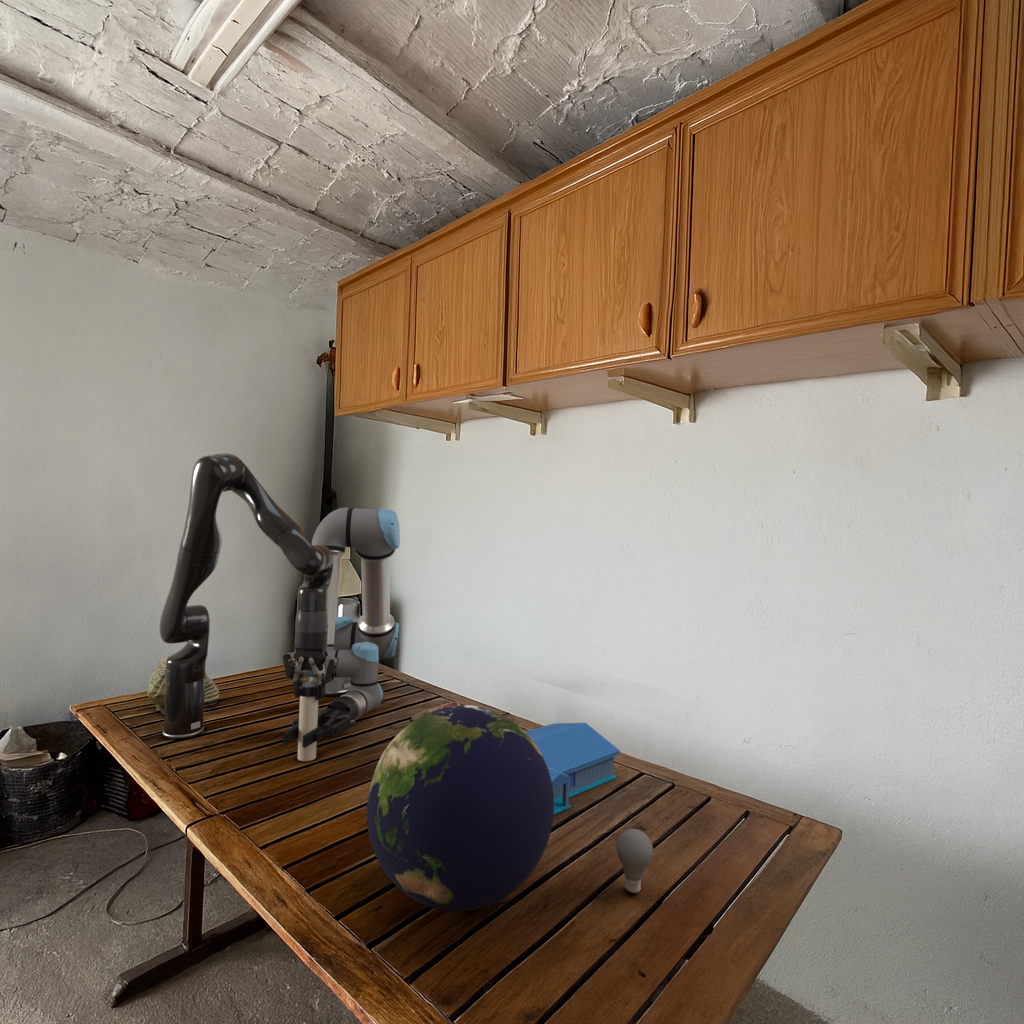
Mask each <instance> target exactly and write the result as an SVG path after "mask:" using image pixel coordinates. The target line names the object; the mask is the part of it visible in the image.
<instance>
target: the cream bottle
mask: <svg viewBox="0 0 1024 1024" xmlns="http://www.w3.org/2000/svg"><path fill="white" fill-rule="evenodd" d="M319 701H320V700H316V696H312V697H303V696H300V697H299V709H298V718H299V730H298V738H297V760H298V761H300V762H310V761H314V760H315V759H316V758H317V752H318V751H317V750H318V748H317V747H318V740H317V741H315V742H314V743H312V744H311V745H309V746H307V747H306V748H303V736H304V735H305V734H307V733H309V732H310V731H312V730H314V729H315V728H317V727H318V712H319Z"/></svg>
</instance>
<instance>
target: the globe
mask: <svg viewBox="0 0 1024 1024" xmlns="http://www.w3.org/2000/svg"><path fill="white" fill-rule="evenodd" d="M368 788H369V789H368V794H367V801H366V822H367V832H368V836H369V840H370V844H371V847H372V851H373V853H374V855H375V857H376V859H377V861H378V864H379V865H380V867H381V869H382V870H383V872H384V873H385V875H386V876H387V877H388V878H389V880H390V881H391V883H393V884H394V885H395V886H396V887H397V888H398V890H400V891H401V892H402V893H404V894H405V895H406V896H408V897H409V898H410V899H412V900H413V901H415V902H417V903H419V904H421V905H424V906H426V907H428V908H429V907H430V908H431V909H436V910H439V911H445V912H455V913H456V912H471V911H475V910H479V909H483V908H486V907H489V906H491V905H494V904H496V903H499V902H500V901H502V900H503V899H505V898H506V897H508V896H509V895H511V894H512V893H514V892H515V891H516V890H517V889H518V888H519V887H520V886H522V885H523V884H524V882H526V880H527V879H528V878H529V877H530V875H532V873H533V871H534V870H535V869H536V867H537V866H538V864H539V863H540V860H541V859H542V857H543V855H544V853H545V850H546V848H547V846H548V843H549V841H550V837H551V833H552V827H553V823H554V816H555V815H554V794H553V786H552V782H551V777H550V774H549V770H548V767H547V765H546V763H545V760H544V757H543V755H542V753H541V752H540V750H539V748H538V747H537V745H536V744H535V742H534V741H533V740H532V739H531V737H530V736H529V735H528V734H527V733H526V731H525V730H524V729H523V728H522V727H521V726H520V725H518V723H516V722H514V721H513V720H512V719H510V718H508V717H507V716H505V715H503V714H501V713H499V712H497V711H494V710H493V709H489V708H485V707H482V706H477V705H469V704H468V705H467V704H465V705H460V706H451V707H445V708H441V709H438V710H435V711H432V712H430V713H427V714H425V715H423V716H421V717H419V718H418V719H416V720H415V721H413V720H412V721H411V722H409V724H407V725H406V726H405V727H404V728H402V729H401V731H399V733H398V734H396V736H395V737H394V738H393V739H392V740H391V741H390V742H389V743H388V745H387V747H385V749H384V751H382V754H381V755H380V758H379V760H378V762H377V763H376V766H375V769H374V771H373V774H372V777H371V780H370V783H369V787H368Z"/></svg>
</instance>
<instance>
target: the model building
mask: <svg viewBox="0 0 1024 1024" xmlns="http://www.w3.org/2000/svg"><path fill="white" fill-rule="evenodd" d="M525 732H526V733H527V734H528V735H529V736H530V737H531V739H532V740H533V741H534V742H535V744H536V745H537V747H538V748H539V750H540V752H541V753H542V755H543V757H544V760H545V763H546V765H547V767H548V770H549V774H550V777H551V782H552V786H553V794H554V816H555V815H557V814H559V813H562V812H563V811H566V810H569V809H571V808H572V805H571V804H570V798H572V797H575V796H577V795H580V794H582V793H585V792H587V791H589V790H591V789H594V788H597V787H599V786H601V785H603V784H605V783H609V782H610V781H613V780H615V779H617V778H618V776H617V775H616V774H614V771H615V770H614V768H615V767H614V765H615V757H617V756H620V754H621V750H620V749H619V748H618V747H617V746H616V745H614V744H613V743H612V742H611V741H610V740H607V738H605V737H604V736H603V735H601V734H600V733H599V732H598V731H597V730H596V729H594V728H593V727H592V726H591V725H589V724H588V723H587V722H560V723H559V722H558V723H555V722H554V723H550V724H546V725H544V726H543V725H542V726H540V727H537V728H533V729H530V730H526V731H525Z"/></svg>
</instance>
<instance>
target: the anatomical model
mask: <svg viewBox="0 0 1024 1024" xmlns="http://www.w3.org/2000/svg"><path fill="white" fill-rule="evenodd" d="M451 706H461V705H460V703H459V702H458V701H452V702H451V701H450V702H447V703H445V704H440V705H438V706H436V707H432V708H429V709H426V710H423V711H419V712H418V713H415V714H414V715H412V716H411V717H410V720H411V721H412V722H413V721H415V720H416V719H418V718H419V717H421V716H423V715H425V714H427V713H430V712H432V711H435V710H438V709H441V708H445V707H451Z"/></svg>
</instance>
